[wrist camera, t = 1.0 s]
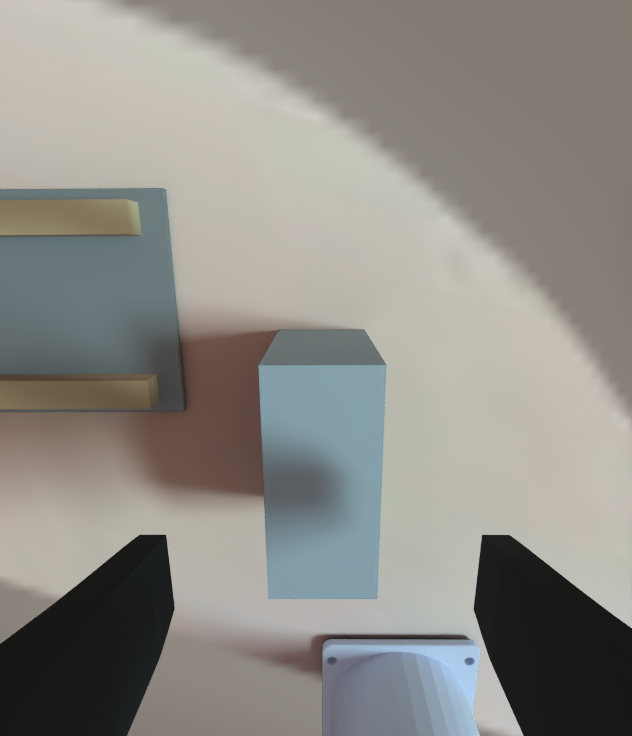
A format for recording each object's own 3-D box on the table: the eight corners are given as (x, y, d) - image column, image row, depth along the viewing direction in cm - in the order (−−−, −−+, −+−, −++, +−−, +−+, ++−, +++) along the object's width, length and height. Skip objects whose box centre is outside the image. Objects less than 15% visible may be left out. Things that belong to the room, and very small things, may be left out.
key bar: (360, 497, 19) (377, 599, 14) (283, 497, 20) (268, 598, 14) (364, 329, 17) (386, 365, 12) (279, 329, 17) (258, 365, 12)
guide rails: (159, 400, 18) (150, 408, 17) (-24, 401, 18) (-44, 409, 17) (137, 202, 16) (126, 199, 15) (-70, 204, 16) (-96, 200, 15)
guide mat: (185, 408, 18) (184, 411, 18) (-39, 409, 18) (-45, 412, 18) (165, 189, 16) (162, 188, 16) (-92, 191, 16) (-99, 190, 16)
